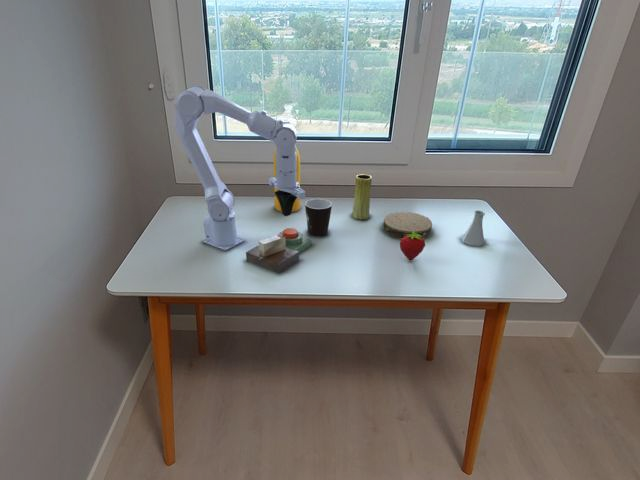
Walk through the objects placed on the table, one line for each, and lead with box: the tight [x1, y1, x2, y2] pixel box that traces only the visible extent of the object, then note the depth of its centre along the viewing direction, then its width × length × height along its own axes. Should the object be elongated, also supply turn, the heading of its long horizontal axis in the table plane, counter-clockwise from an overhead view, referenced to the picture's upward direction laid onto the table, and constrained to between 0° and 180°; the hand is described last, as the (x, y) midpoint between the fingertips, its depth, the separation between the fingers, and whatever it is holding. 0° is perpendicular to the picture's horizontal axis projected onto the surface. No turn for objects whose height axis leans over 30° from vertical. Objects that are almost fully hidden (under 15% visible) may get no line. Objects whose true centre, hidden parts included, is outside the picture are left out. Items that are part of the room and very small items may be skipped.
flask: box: [461, 210, 486, 247], centre depth 142 cm, size 7×7×10 cm
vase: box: [351, 173, 373, 220], centre depth 155 cm, size 6×6×14 cm
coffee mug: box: [304, 198, 333, 238], centre depth 146 cm, size 12×9×10 cm
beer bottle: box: [273, 123, 301, 213], centre depth 156 cm, size 9×9×29 cm
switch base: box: [245, 244, 300, 275], centre depth 130 cm, size 12×12×3 cm
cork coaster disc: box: [382, 211, 433, 240], centre depth 150 cm, size 16×16×3 cm
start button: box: [282, 227, 298, 239], centre depth 137 cm, size 4×4×2 cm
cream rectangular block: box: [258, 233, 285, 257], centre depth 128 cm, size 8×2×4 cm, turn 131°
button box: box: [278, 230, 312, 253], centre depth 138 cm, size 10×8×4 cm
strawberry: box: [399, 229, 426, 262], centre depth 131 cm, size 6×8×10 cm
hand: (286, 214), depth 134 cm, fingers closed
